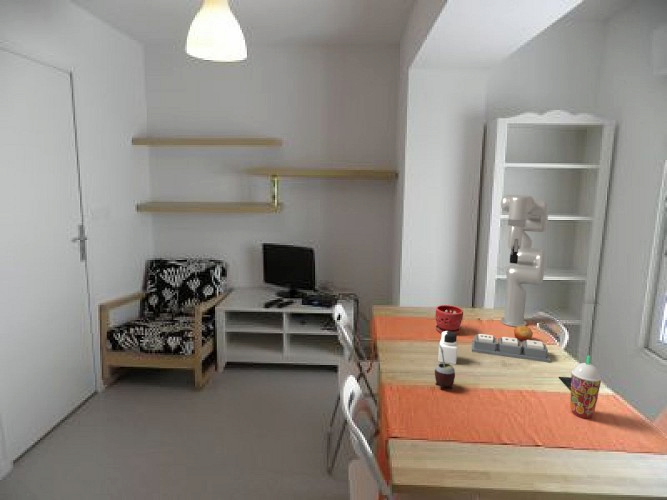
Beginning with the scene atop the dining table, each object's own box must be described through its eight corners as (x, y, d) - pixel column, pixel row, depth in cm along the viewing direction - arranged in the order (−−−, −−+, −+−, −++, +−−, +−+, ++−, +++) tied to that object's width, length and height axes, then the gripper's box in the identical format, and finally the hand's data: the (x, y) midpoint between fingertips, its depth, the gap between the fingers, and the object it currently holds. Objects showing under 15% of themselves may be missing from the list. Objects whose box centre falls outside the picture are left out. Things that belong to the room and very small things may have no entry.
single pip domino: (525, 348, 184) (526, 339, 183) (540, 350, 182) (541, 341, 181) (527, 353, 178) (528, 344, 177) (542, 355, 176) (543, 346, 175)
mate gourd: (450, 393, 147) (453, 353, 144) (429, 387, 151) (431, 348, 148) (456, 384, 153) (459, 346, 151) (435, 379, 157) (438, 341, 155)
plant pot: (432, 334, 203) (434, 310, 201) (436, 325, 215) (438, 303, 213) (460, 338, 198) (462, 314, 196) (462, 329, 210) (464, 306, 208)
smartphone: (576, 377, 159) (597, 396, 145) (576, 380, 160) (596, 399, 145) (558, 376, 160) (576, 395, 145) (557, 378, 160) (576, 398, 146)
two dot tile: (501, 345, 187) (502, 336, 186) (515, 346, 185) (516, 337, 184) (502, 350, 181) (503, 340, 180) (517, 352, 179) (518, 342, 179)
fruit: (526, 333, 202) (531, 323, 197) (531, 347, 196) (536, 336, 191) (509, 332, 203) (513, 322, 198) (513, 346, 197) (517, 335, 192)
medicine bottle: (456, 357, 177) (458, 330, 175) (455, 364, 170) (457, 336, 168) (439, 355, 179) (441, 328, 177) (438, 361, 172) (439, 334, 170)
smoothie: (561, 407, 139) (567, 350, 136) (584, 406, 140) (591, 350, 136) (577, 421, 131) (585, 361, 127) (602, 420, 132) (610, 361, 128)
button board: (472, 342, 193) (472, 333, 193) (545, 352, 183) (546, 342, 183) (471, 351, 183) (472, 341, 182) (549, 362, 173) (551, 352, 172)
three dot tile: (477, 341, 190) (478, 333, 189) (492, 343, 188) (492, 334, 187) (477, 346, 184) (478, 337, 184) (492, 348, 182) (493, 339, 182)
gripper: (507, 221, 197) (503, 259, 200) (509, 224, 183) (505, 265, 186) (524, 222, 195) (520, 260, 198) (527, 225, 181) (523, 266, 184)
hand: (513, 263), depth 192 cm, fingers closed
